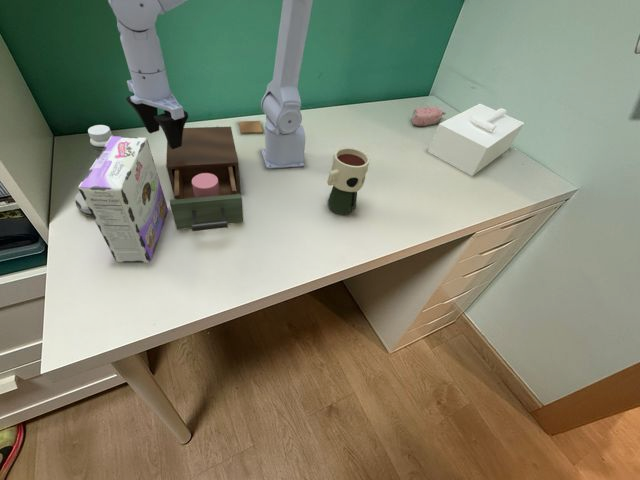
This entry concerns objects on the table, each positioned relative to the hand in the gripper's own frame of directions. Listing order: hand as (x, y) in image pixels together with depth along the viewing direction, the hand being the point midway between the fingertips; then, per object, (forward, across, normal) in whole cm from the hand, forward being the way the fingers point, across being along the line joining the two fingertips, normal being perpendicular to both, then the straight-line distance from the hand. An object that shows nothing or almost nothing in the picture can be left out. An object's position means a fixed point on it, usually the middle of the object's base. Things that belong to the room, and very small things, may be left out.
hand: (164, 139), depth 66 cm
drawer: (+9, +14, -2) cm, 17 cm away
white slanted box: (+10, +43, +71) cm, 84 cm away
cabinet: (+10, +4, +6) cm, 12 cm away
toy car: (+10, -1, -12) cm, 16 cm away
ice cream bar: (+10, +26, +77) cm, 82 cm away
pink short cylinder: (+8, +13, -1) cm, 15 cm away
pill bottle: (+10, -14, -7) cm, 18 cm away
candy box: (+10, +11, -14) cm, 20 cm away
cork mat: (+10, -6, +28) cm, 31 cm away
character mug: (+10, +32, +20) cm, 39 cm away
